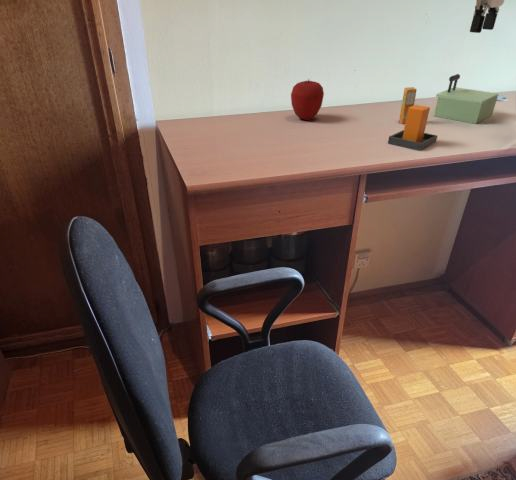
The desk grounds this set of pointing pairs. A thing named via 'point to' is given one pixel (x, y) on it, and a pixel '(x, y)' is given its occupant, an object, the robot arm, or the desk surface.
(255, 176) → the desk surface
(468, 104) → the box
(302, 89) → the apple
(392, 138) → the tray
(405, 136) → the orange block
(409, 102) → the supplement box
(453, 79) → the lunchbox lid
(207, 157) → the desk surface
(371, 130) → the desk surface
